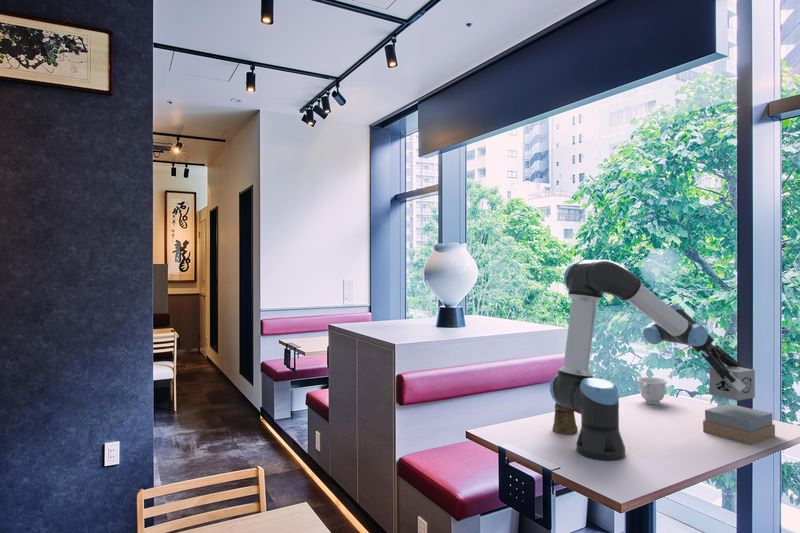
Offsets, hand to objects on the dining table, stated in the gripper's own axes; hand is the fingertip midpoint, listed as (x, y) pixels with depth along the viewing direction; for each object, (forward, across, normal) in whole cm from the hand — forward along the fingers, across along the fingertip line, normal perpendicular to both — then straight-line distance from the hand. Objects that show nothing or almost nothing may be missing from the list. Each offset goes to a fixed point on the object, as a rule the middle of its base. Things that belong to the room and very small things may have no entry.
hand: (747, 386), depth 180 cm
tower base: (+10, 0, -15) cm, 18 cm away
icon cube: (0, 0, -7) cm, 7 cm away
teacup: (-16, -18, -42) cm, 48 cm away
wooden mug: (-22, +37, -47) cm, 64 cm away
